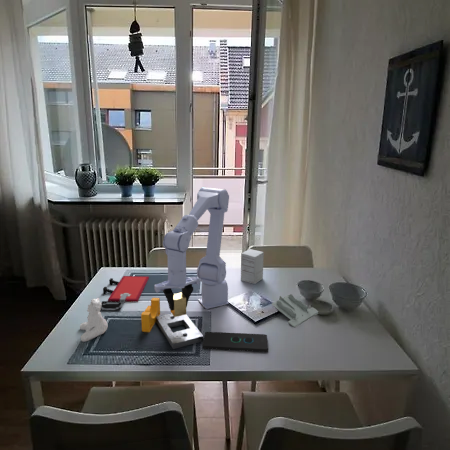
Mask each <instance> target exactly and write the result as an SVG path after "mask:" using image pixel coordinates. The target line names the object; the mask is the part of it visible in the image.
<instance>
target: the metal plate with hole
mask: <svg viewBox="0 0 450 450" xmlns="http://www.w3.org/2000/svg"><path fill="white" fill-rule="evenodd" d="M155 323H156V324H157V326H158V327H159V328H160V330H161V332H162V333H163V335H164V337H165V338H166V340H167V342H168V343H169V344H170V346H171V348H172V349H173V350H175V349H179V348H184V347H186V346H190V345H193V344H197V343H201V342H203V340H204V335H203V334H202V332H201V331H200V330H199V329H198V327H197V325H196V324H195V323H194V322H193V321H192V320H191V319H190V317H189V316H188V315H187V314H186V315H182V316H177V317H174V316H173V314H172V313H171V312H170V313H166V314H162V315H161V314H160V315H159V316H157V317H156V322H155ZM178 326H185V328H186V329H182V330H176V331H174V332H173V331H172V329H171V328H174V327H178Z"/></svg>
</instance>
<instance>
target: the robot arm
mask: <svg viewBox="0 0 450 450" xmlns="http://www.w3.org/2000/svg"><path fill="white" fill-rule="evenodd" d="M229 202H230V195H229V193H228V190H227V189H225V188H223V189H221V188H213V187H206V186H202V187H200V188H199V190H198V192H197V194H196V202H195V204H194V205H193V207H192V208H191V209H190V212H189V214H183V216H182V217H181V219H180V220H179V221H178V223H177V224H176V225H175V227H174V228H173V229H172V230H170V231H168V232H166V234H164V237H163V241H162V245H163V248H164V249H165V254H166V255H167V280H165V281H162V282H159V283H156V284H154V288H153V289H154V291H155V292H156V293H157V294H158V293H160V292H161V291H162V293H163V294H164V296H165V298H166V301H167V304H168V309H169V310H171V311H172V310H173V297H174V294H175V293H174V292H173V290H172V289H179V290H180V289H181V293H183V295H184V296H185V297H186V308H188V303H189V299H190V297H191V295H192V294H193V292H194V286H193V285H200V282H201V298H198V299H197V301H198V302H199V303H200V304H201V305H202V306H203V307H204V308H205V309H206V310H208V309H214V308H216V307H217V308H218V307H222V306H225V305H226V306H227V305H228V304H229V286H228V283H227V281H226V277H227V276H226V275H227V268H226V267H227V262H226V261H225V260H224V259H223V258H221V256H220V255H221V246H222V239H223V238H222V237H223V228H224V221H225V219H224V218H225V213H227V212H228V210H229ZM206 211H208V212H209V214H210V215H209V226H208V233H207V243H206V251H205V256H203V257H202V258H200V259H199V263H198V266H197V268H196V276H191V277H189V276H188V277H187V250H188V249H189V248H190V243H191V239H192V236H193V234H194V232H196V230H197V228H198V227H199V220H200V219H201V217H202V216H203V215H204V214H205V212H206ZM171 311H170V312H171Z"/></svg>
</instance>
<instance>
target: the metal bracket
mask: <svg viewBox="0 0 450 450" xmlns="http://www.w3.org/2000/svg"><path fill="white" fill-rule="evenodd" d="M271 305H272V306H273V307H274V308H275V309H277V310H278V311H279V312H280V313H281V314H283V316H285V317H286V318H288V319H289V320H288V322H287V323H288V324H289V325H290V326H291V327H293V328H297V327H299V326H300V325H301V324H303V323H304V322H306V321H307V320H308V319H310V318H312V317H314V316H317V315H318V314H319V313H318V312H319V310H317V309H316V308H314V307H313V306H312V307H310V308H309V307H308V305H307V304H305V303H304V302H303V301H302V300H300V299H298V298H296V297H295V296H294V295H293V294H291V293H290V294H288V295H286V296H284V297H282V296H281V295H280V296H279V299H278V300H276V301H274V302H272V303H271Z"/></svg>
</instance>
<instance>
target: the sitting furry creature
mask: <svg viewBox="0 0 450 450" xmlns="http://www.w3.org/2000/svg"><path fill="white" fill-rule="evenodd" d="M101 306H102V301H101V300H100V298H99V297H97V298H91V301H90V304H88V305H87V310H86V311H87V312H88V314H87V321H84V322H82V323H80V325H79V329H80V330H81V331H84V333H83V334H82V335H81V336H80V340H81V342H83V343H85V342H89V341H91V340H93V339H95V338H97V337H99V336H101V335H103V334H104V333H105V332H107V330H108V322H107V319H106V318H104V317H103V315H102V312H101Z"/></svg>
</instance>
